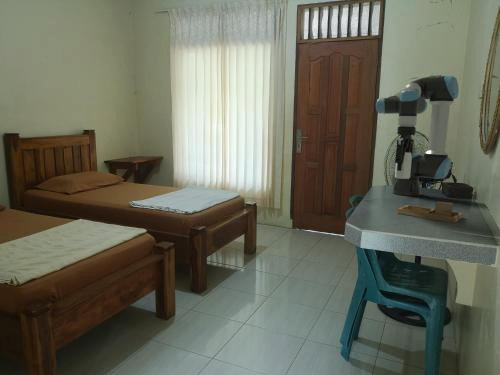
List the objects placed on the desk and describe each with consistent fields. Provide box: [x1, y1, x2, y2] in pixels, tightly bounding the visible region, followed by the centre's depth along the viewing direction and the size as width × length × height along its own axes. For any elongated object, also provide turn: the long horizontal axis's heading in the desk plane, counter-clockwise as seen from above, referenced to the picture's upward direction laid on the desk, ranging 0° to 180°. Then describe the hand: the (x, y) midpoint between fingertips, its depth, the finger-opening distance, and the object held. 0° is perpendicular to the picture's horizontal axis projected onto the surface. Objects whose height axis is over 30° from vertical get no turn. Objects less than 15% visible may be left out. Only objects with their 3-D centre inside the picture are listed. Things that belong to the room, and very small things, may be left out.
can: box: [394, 152, 412, 179], centre depth 175 cm, size 6×6×12 cm
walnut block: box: [434, 201, 454, 217], centre depth 162 cm, size 6×6×6 cm
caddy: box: [397, 204, 464, 224], centre depth 166 cm, size 12×23×3 cm, turn 48°
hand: (402, 177), depth 176 cm, fingers closed on can, 6 cm apart
